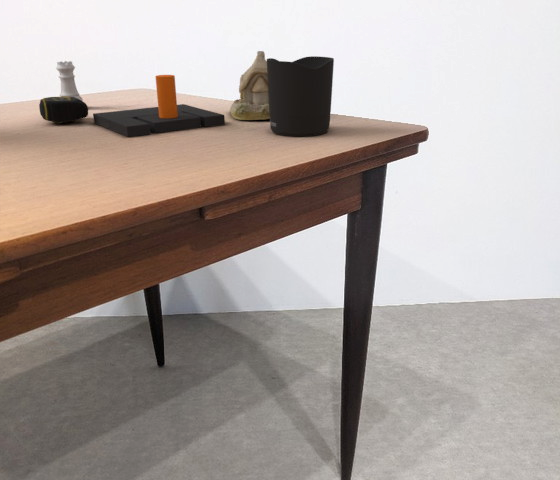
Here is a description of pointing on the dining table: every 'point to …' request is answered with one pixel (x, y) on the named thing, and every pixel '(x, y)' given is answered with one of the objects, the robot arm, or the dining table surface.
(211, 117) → the black u-shaped block
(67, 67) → the rook chess piece
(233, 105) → the ceramic model
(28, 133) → the dining table surface
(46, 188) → the dining table surface
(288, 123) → the pen holder
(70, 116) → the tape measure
